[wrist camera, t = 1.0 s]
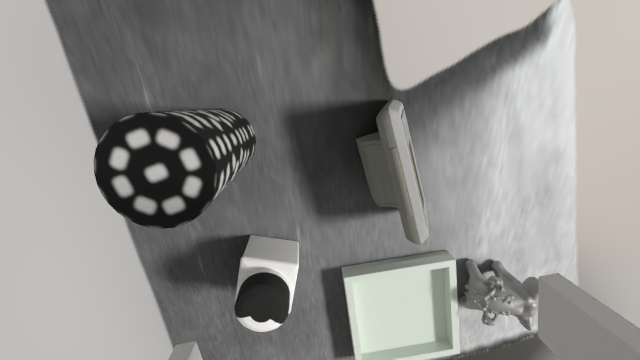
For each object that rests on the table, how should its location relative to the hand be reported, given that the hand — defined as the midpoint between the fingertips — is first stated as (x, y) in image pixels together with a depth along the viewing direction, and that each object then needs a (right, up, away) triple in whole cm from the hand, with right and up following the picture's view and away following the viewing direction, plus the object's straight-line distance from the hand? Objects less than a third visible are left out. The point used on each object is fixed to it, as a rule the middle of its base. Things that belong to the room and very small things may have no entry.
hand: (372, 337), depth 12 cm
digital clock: (+8, +9, +32) cm, 34 cm away
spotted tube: (-15, +11, +30) cm, 35 cm away
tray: (+10, -13, +37) cm, 40 cm away
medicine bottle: (-9, -6, +34) cm, 36 cm away
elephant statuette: (+25, -9, +37) cm, 45 cm away
